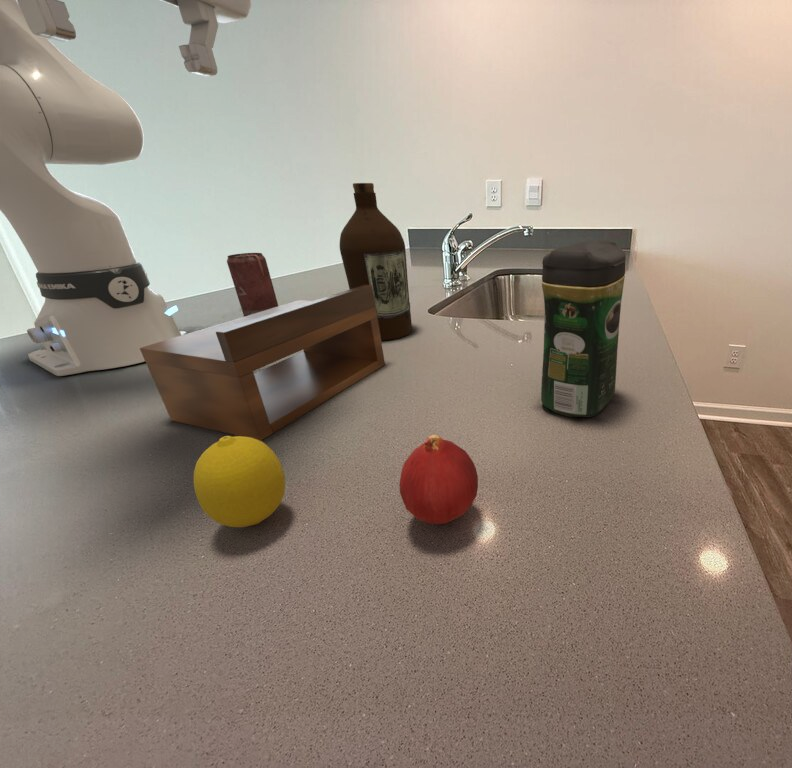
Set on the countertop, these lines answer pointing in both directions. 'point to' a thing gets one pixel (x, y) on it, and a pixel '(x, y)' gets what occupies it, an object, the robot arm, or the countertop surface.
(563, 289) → the coffee jar
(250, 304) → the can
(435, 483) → the onion
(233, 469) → the lemon
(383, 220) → the olive oil
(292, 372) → the shelf
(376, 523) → the countertop surface
